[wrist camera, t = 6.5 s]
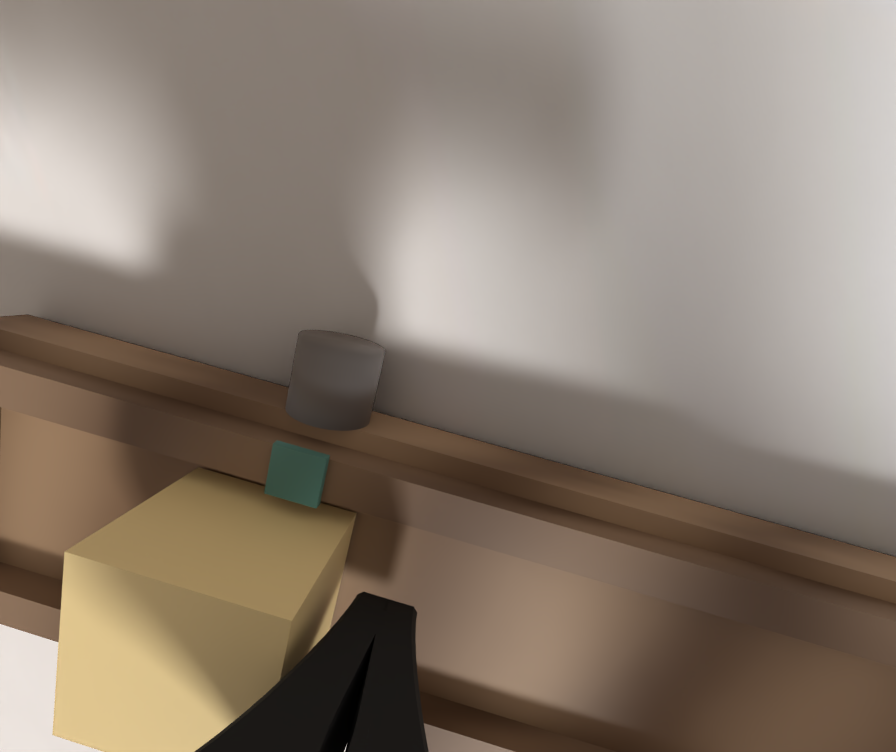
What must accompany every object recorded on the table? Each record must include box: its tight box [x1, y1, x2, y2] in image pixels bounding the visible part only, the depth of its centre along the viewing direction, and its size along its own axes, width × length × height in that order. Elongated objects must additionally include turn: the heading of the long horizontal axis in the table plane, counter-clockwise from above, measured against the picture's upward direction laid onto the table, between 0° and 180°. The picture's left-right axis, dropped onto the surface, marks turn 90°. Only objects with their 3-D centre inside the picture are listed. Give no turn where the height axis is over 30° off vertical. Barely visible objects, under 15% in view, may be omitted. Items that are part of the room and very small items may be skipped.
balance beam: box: [0, 315, 896, 752], centre depth 11 cm, size 26×12×2 cm, turn 76°
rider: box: [53, 467, 356, 752], centre depth 10 cm, size 4×4×4 cm
